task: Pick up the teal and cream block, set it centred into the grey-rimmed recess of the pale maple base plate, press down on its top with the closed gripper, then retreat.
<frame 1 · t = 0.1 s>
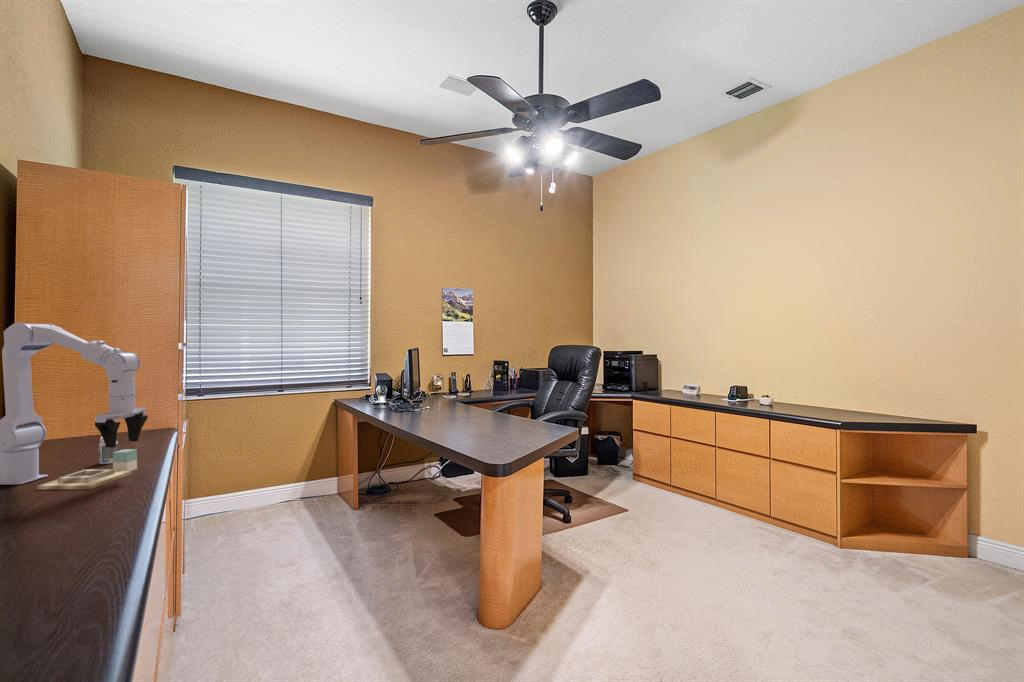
hand: (122, 444, 136), 10 cm above the cabinet, fingers open, 7 cm apart
teal and cream block: (125, 470, 145), on the cabinet
base plate: (86, 481, 134), on the cabinet
pill bottle: (108, 462, 155), on the cabinet
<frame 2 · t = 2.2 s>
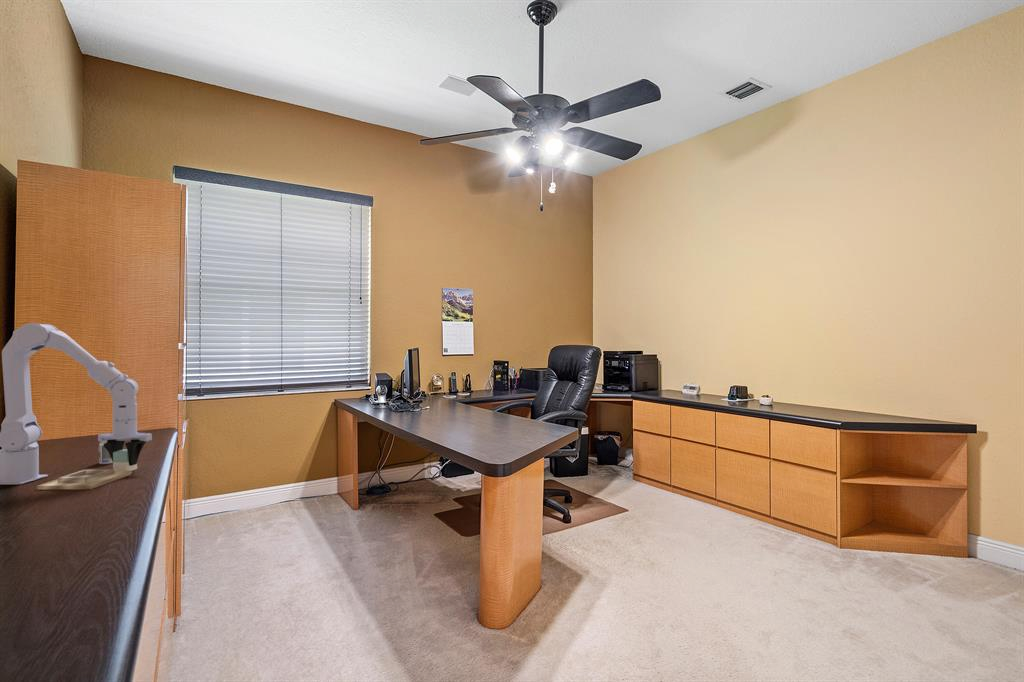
hand: (125, 464, 145), 2 cm above the cabinet, fingers closed on teal and cream block, 4 cm apart
teal and cream block: (125, 470, 145), on the cabinet, touching gripper
everything else where it was.
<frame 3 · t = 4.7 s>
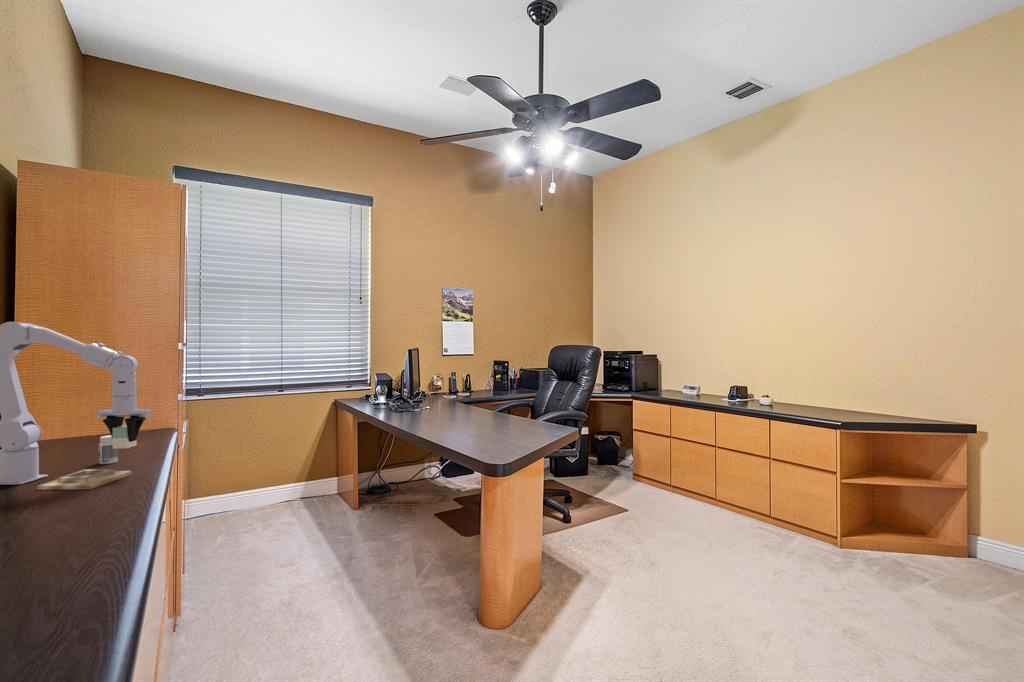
hand: (124, 441, 145), 9 cm above the cabinet, fingers closed on teal and cream block, 4 cm apart
teal and cream block: (124, 446, 145), point 7 cm above the cabinet, touching gripper
everything else where it was.
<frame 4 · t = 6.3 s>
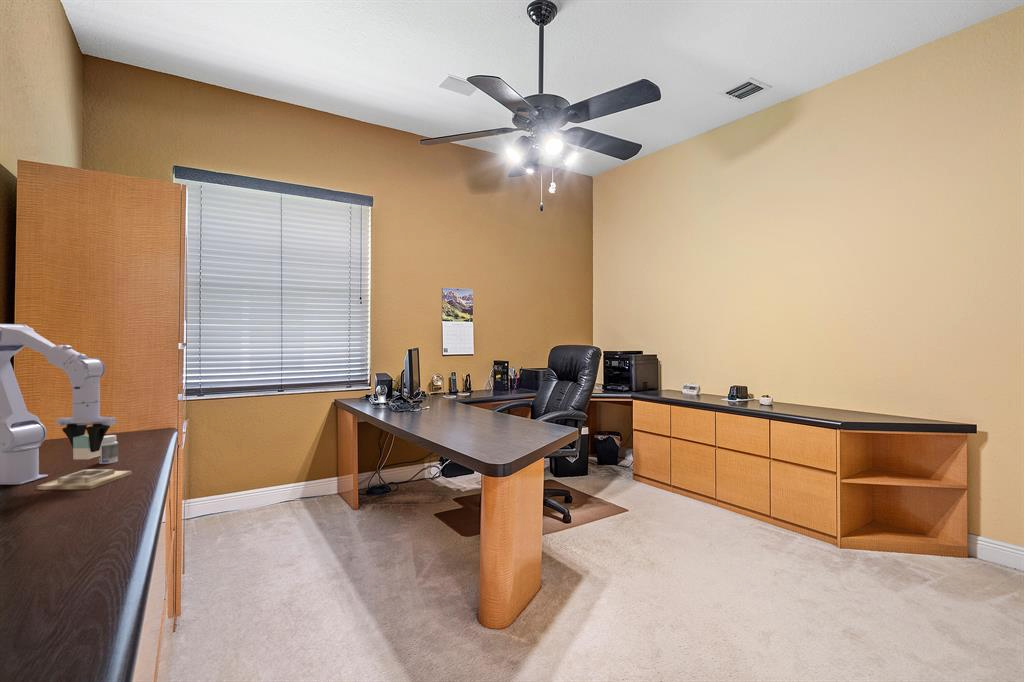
hand: (86, 451, 134), 8 cm above the cabinet, fingers closed on teal and cream block, 4 cm apart
teal and cream block: (87, 457, 134), point 7 cm above the cabinet, touching gripper
everything else where it was.
when the fingers open (4 cm above the cabinet, at t = 7.6 s): teal and cream block drops 1 cm, resting on base plate.
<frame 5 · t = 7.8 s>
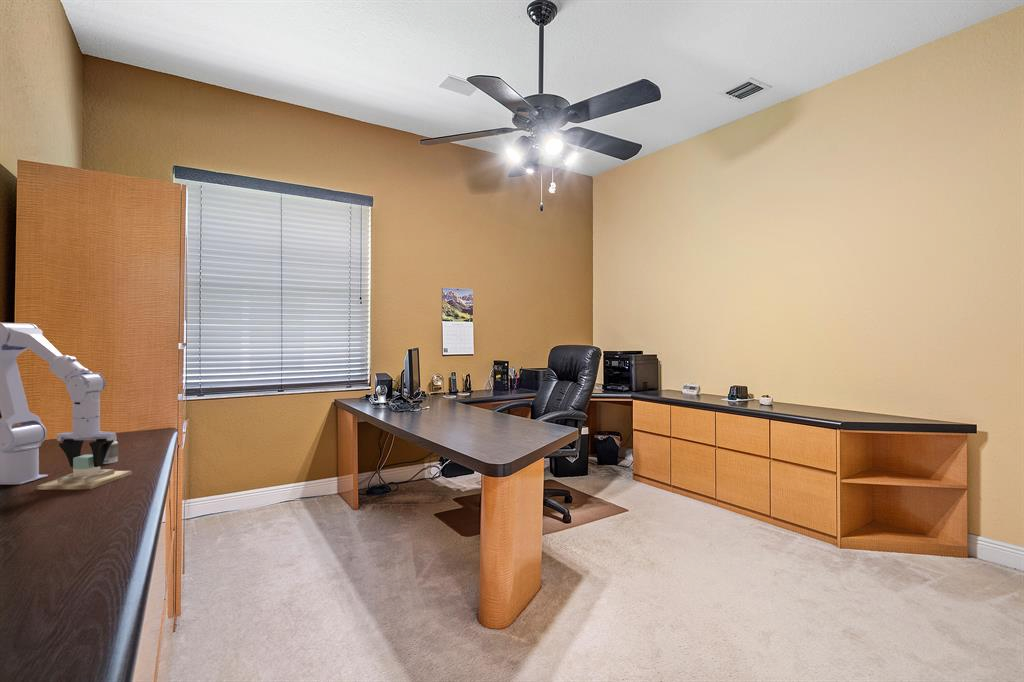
hand: (86, 466, 134), 4 cm above the cabinet, fingers open, 6 cm apart
teal and cream block: (87, 477, 134), point 1 cm above the cabinet, touching base plate
everything else where it was.
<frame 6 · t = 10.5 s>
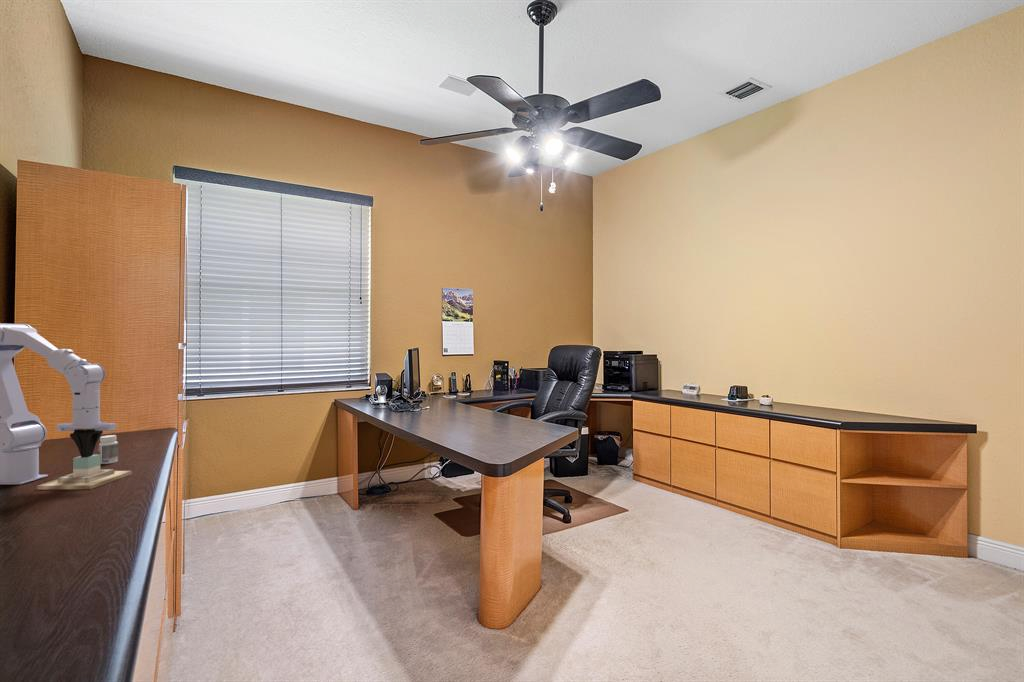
hand: (86, 456, 134), 7 cm above the cabinet, fingers closed, pressing on teal and cream block
teal and cream block: (87, 477, 134), point 1 cm above the cabinet, touching base plate, gripper
everything else where it was.
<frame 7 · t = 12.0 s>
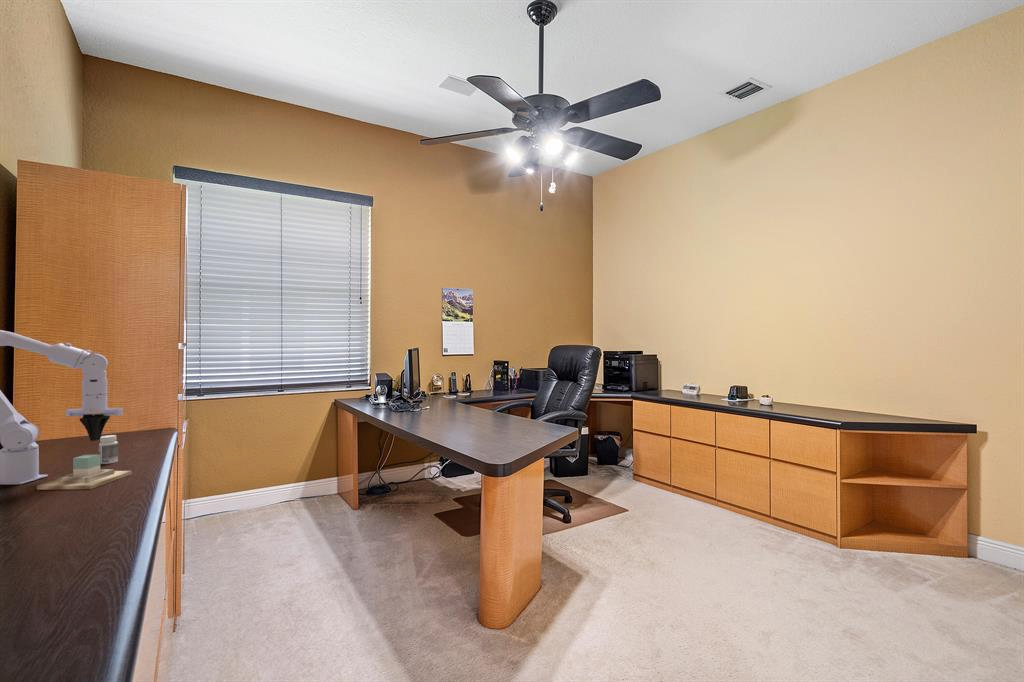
hand: (95, 440, 144), 9 cm above the cabinet, fingers closed
teal and cream block: (87, 477, 134), point 1 cm above the cabinet, touching base plate
everything else where it was.
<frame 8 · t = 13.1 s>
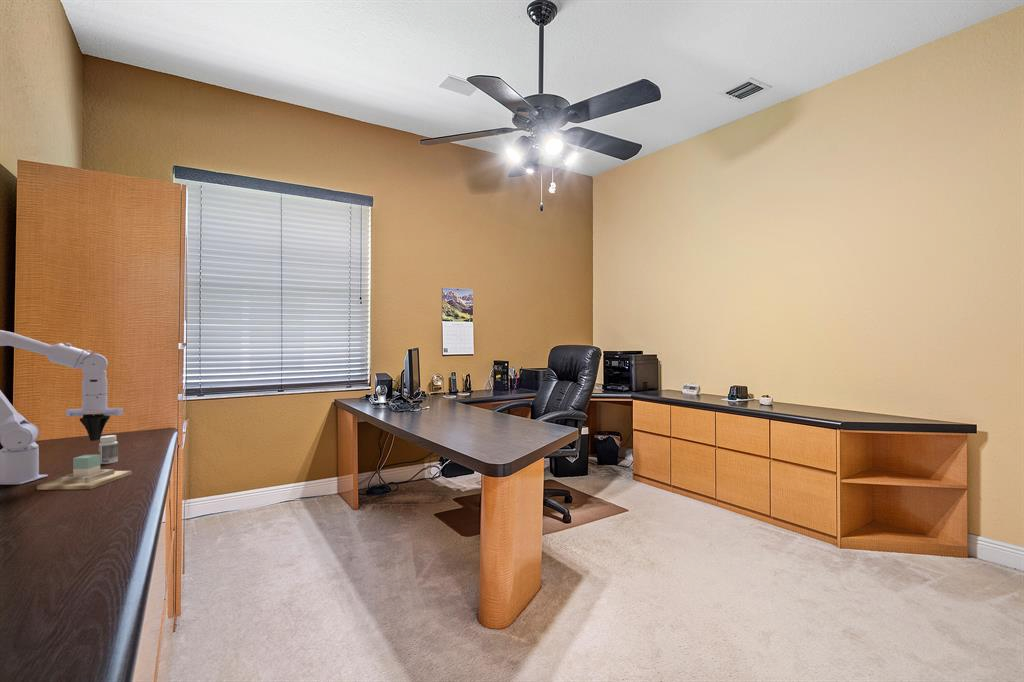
hand: (95, 440, 144), 9 cm above the cabinet, fingers closed
nothing on the cabinet moved.
at the end: teal and cream block 0.1 cm off-centre on the base plate, point 1.0 cm above the base plate's base; teal and cream block tilted 0°; the gripper is holding nothing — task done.
